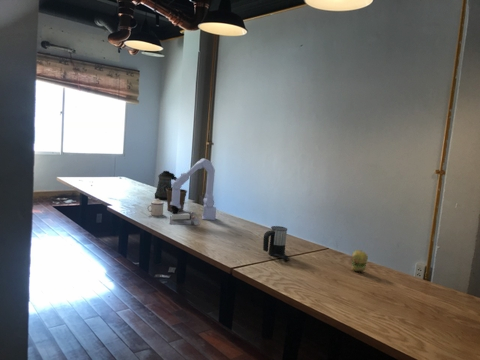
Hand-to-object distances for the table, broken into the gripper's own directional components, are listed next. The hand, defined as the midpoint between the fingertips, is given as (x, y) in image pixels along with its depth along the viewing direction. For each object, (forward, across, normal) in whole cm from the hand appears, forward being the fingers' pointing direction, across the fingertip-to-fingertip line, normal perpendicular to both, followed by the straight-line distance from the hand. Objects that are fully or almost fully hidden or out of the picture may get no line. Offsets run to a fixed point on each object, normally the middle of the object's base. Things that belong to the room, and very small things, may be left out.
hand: (174, 216), depth 270 cm
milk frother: (+2, +95, +19) cm, 97 cm away
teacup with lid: (+2, -15, -9) cm, 17 cm away
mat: (+2, +8, +4) cm, 9 cm away
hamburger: (+2, +128, +43) cm, 135 cm away
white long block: (+1, +4, +2) cm, 5 cm away
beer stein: (+2, -75, +23) cm, 78 cm away
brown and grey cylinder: (+2, +20, +4) cm, 21 cm away
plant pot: (+2, -25, +12) cm, 28 cm away
